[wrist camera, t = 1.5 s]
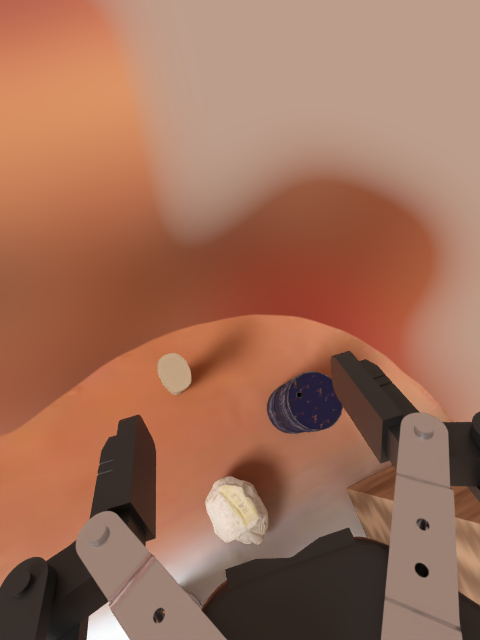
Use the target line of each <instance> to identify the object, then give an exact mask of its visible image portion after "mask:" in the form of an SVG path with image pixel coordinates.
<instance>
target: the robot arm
mask: <svg viewBox="0 0 480 640" xmlns="http://www.w3.org/2000/svg"><path fill="white" fill-rule="evenodd" d="M331 370H332V384H333V388H334V391H335V394H336V396H337V397H338V399H339V401H340V402H341V404H342V405H343V407H344V408H345V410H346V411H347V413H348V414H349V416H350V417H351V419H352V421H353V422H354V424H355V425H356V427H357V428H358V430H359V431H360V433H361V434H362V436H363V437H364V439H365V440H366V442H367V444H368V445H369V447H370V448H371V450H372V451H373V453H374V454H375V456H376V457H377V459H378V460H379V462H380V463H383V462H386V461H389V460H390V462H391V463H392V464H393V466H394V467H395V469H396V481H395V491H394V502H393V513H392V523H391V534H390V545H387V544H385V543H382V542H380V541H377V540H374V539H370V538H365V537H353V535H352V533H351V531H350V529H349V528H346V529H343V530H340V531H337V532H334V533H332V534H329V535H326V536H323V537H320V538H318V539H317V540H315V541H314V542H313V543H311V544H310V545H308V546H307V547H306V548H304V549H303V550H301V551H300V552H299V553H297V554H296V555H295V556H293V557H291V558H276V559H255V560H252V561H249V562H246V563H243V564H241V565H238V566H235V567H232V568H229V569H226V577H227V580H226V581H225V582H224V583H222V584H221V585H220V586H219V587H218V588H217V589H216V590H215V591H214V592H213V593H212V594H211V596H210V597H209V598H208V600H207V601H206V603H205V604H204V606H203V608H202V606H201V604H200V603H199V601H198V600H197V599H196V598H195V596H193V595H192V594H190V593H188V592H185V591H184V590H183V589H182V587H181V586H180V585H179V584H178V583H177V582H176V581H175V579H174V578H173V577H172V576H171V575H170V574H169V572H168V571H167V570H166V569H165V568H164V567H163V566H162V564H161V563H160V562H159V561H158V560H157V559H156V558H155V557H154V556H153V555H152V554H151V553H150V552H149V551H148V550H147V549H146V547H145V544H146V541H149V540H152V539H155V538H156V449H155V444H154V441H153V438H152V436H151V435H150V433H149V431H148V429H147V427H146V425H145V423H144V421H143V419H142V417H141V416H140V415H136V416H132V417H129V418H126V419H122V420H120V421H119V424H118V431H117V435H116V436H113V437H109V438H108V440H107V442H106V444H105V445H104V447H103V449H102V451H101V457H100V466H99V469H98V476H97V480H96V486H95V492H94V498H93V503H92V509H91V515H90V519H89V520H88V521H87V522H86V523H85V525H84V526H83V527H82V529H81V530H80V532H79V534H78V537H77V540H76V541H74V542H73V543H72V544H71V545H70V546H68V547H67V548H65V549H64V550H62V551H61V552H59V553H58V554H56V555H55V556H53V557H52V558H50V559H49V560H47V561H45V560H44V559H43V558H40V557H33V558H29V559H27V560H25V561H23V562H22V563H20V564H19V565H18V566H16V567H15V568H14V569H13V570H12V571H11V572H10V574H9V575H8V576H7V577H6V579H5V580H4V582H3V583H2V585H1V587H0V640H86V639H87V629H88V618H89V616H90V615H91V614H92V613H94V612H95V611H96V610H98V609H99V608H100V607H102V606H103V605H104V604H106V603H107V602H108V601H109V603H110V604H109V607H110V609H111V611H112V613H113V614H114V616H115V617H116V619H117V620H118V622H119V623H120V625H121V627H122V628H123V630H124V631H125V633H126V634H127V636H128V637H129V639H130V640H480V605H479V604H477V603H476V602H474V601H473V600H471V599H470V598H468V597H467V596H465V595H464V594H462V593H461V592H459V591H458V577H457V554H456V531H455V508H454V493H453V489H452V488H451V487H450V486H467V487H468V488H469V489H470V491H471V492H472V493H473V495H474V496H475V497H476V498H477V500H478V501H479V502H480V412H478V413H476V414H475V416H474V417H473V420H472V422H456V423H455V422H450V423H449V422H441V421H440V420H439V419H438V418H436V417H434V416H432V415H429V414H426V413H420V412H419V411H418V410H417V409H416V408H415V407H414V406H413V405H412V404H411V403H410V401H409V400H408V399H407V398H406V397H405V396H404V395H403V394H402V393H401V391H400V390H399V389H398V388H397V387H396V386H395V385H394V384H392V381H391V380H390V379H389V378H388V377H387V376H386V375H385V374H384V373H383V371H382V370H381V369H380V368H379V367H378V366H377V365H375V364H373V363H371V362H370V361H368V360H366V359H365V360H362V361H358V360H357V359H356V357H355V356H354V355H353V354H352V353H351V352H350V351H347V352H344V353H341V354H337V355H334V356H332V357H331Z"/></svg>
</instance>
